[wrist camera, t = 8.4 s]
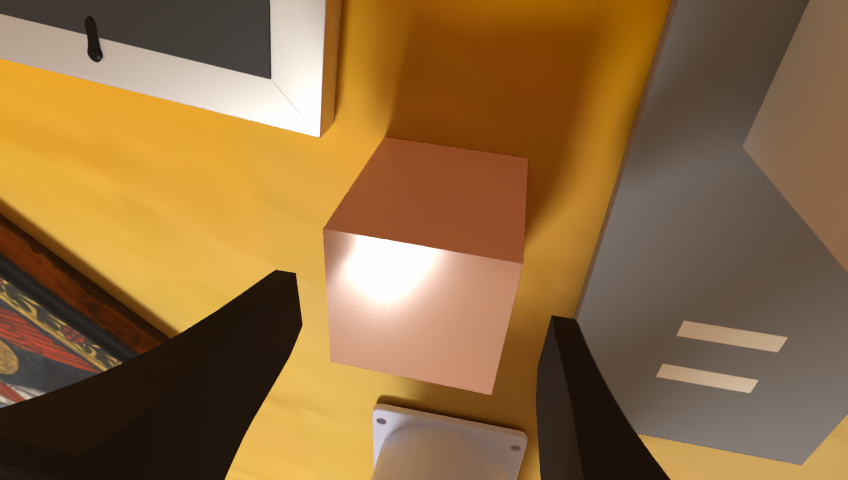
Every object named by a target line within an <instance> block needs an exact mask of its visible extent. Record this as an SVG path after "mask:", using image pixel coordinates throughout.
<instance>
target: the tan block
mask: <svg viewBox="0 0 848 480" xmlns="http://www.w3.org/2000/svg"><path fill="white" fill-rule="evenodd" d="M743 148H744V150H745V151H746V152H747V153H748V154H749V156H750V157H751V158H752V159H753V160H754V162H755V163H756V164H757V165H758V166H759V168H760V169H761V170H762V171H763V172H764V173H765V175H766V176H767V177H768V178H769V179H770V181H771V182H772V183H773V184H774V185H775V187H776V188H777V189H778V190H779V191H780V193H781V194H782V195H783V196H784V197H785V199H786V200H787V201H788V202H789V203H790V204H791V206H792V207H793V208H794V209H795V210H796V212H797V213H798V214H799V215H800V216H801V218H802V219H803V220H804V221H805V222H806V224H807V225H808V226H809V227H810V228H811V230H812V231H813V232H814V233H815V234H816V235H817V237H818V238H819V239H820V240H821V241H822V243H823V244H824V245H825V246H826V247H827V249H828V250H829V251H830V252H831V253H832V255H833V256H834V257H835V258H836V259H837V261H838V262H839V263H840V264H841V265H842V266H843V268H844V269H845V270H846V271H847V272H848V0H809V2H808V5H807V7H806V9H805V11H804V13H803V15H802V18H801V20H800V22H799V24H798V26H797V29H796V31H795V33H794V35H793V37H792V39H791V42H790V44H789V46H788V48H787V50H786V53H785V55H784V57H783V59H782V61H781V64H780V66H779V68H778V70H777V72H776V74H775V77H774V79H773V81H772V83H771V85H770V88H769V90H768V92H767V94H766V96H765V98H764V101H763V103H762V105H761V107H760V109H759V112H758V114H757V116H756V118H755V120H754V123H753V125H752V127H751V129H750V131H749V133H748V136H747V138H746V140H745V142H744V144H743Z"/></svg>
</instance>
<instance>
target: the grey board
mask: <svg viewBox="0 0 848 480" xmlns="http://www.w3.org/2000/svg"><path fill="white" fill-rule="evenodd" d="M808 2H809V0H672V2H671V5H670V8H669V11H668V15H667V18H666V21H665V24H664V28H663V31H662V34H661V37H660V40H659V44H658V47H657V50H656V53H655V57H654V60H653V63H652V66H651V70H650V73H649V76H648V79H647V83H646V86H645V89H644V92H643V96H642V99H641V102H640V105H639V108H638V112H637V115H636V118H635V121H634V125H633V128H632V131H631V134H630V138H629V141H628V144H627V147H626V151H625V154H624V157H623V160H622V164H621V167H620V170H619V173H618V176H617V180H616V183H615V186H614V189H613V193H612V196H611V199H610V202H609V206H608V209H607V212H606V215H605V219H604V222H603V225H602V228H601V231H600V235H599V238H598V241H597V244H596V248H595V251H594V254H593V257H592V261H591V264H590V267H589V270H588V274H587V277H586V280H585V283H584V287H583V290H582V293H581V296H580V299H579V303H578V306H577V309H576V312H575V316H574V319H576V321H577V322H578V323H579V326H580V329H581V331H582V333H583V336H584V338H585V341H586V343H587V345H588V347H589V350H590V352H591V354H592V356H593V358H594V360H595V362H596V364H597V366H598V368H599V370H600V372H601V374H602V376H603V378H604V380H605V382H606V383H607V385H608V387H609V389H610V391H611V393H612V394H613V396H614V398H615V400H616V401H617V403H618V405H619V406H620V408H621V410H622V411H623V413H624V415H625V416H626V418H627V420H628V421H629V423H630V424H631V426H632V427H633V429H634V430H635V432H636V433H637V434H641V435H647V436H652V437H657V438H662V439H667V440H673V441H678V442H683V443H688V444H693V445H699V446H704V447H709V448H714V449H720V450H725V451H730V452H735V453H740V454H746V455H751V456H756V457H761V458H766V459H772V460H777V461H782V462H787V463H793V464H798V465H802V464H803V463H804V462H805V461H806V460H807V459H808V457H809V456H810V455H811V454H812V453H813V452H814V451H815V450H816V449H817V447H818V446H819V445H820V444H821V443H822V442H823V441H824V440H825V439H826V437H827V436H828V435H829V434H830V433H831V432H832V431H833V430H834V429H835V427H836V426H837V425H838V424H839V423H840V422H841V421H842V420H843V419H844V418H845V416H846V415H847V414H848V272H847V271H846V270H845V269H844V268H843V266H842V265H841V264H840V263H839V262H838V261H837V259H836V258H835V257H834V256H833V255H832V253H831V252H830V251H829V250H828V249H827V247H826V246H825V245H824V244H823V243H822V241H821V240H820V239H819V238H818V237H817V235H816V234H815V233H814V232H813V231H812V230H811V228H810V227H809V226H808V225H807V224H806V222H805V221H804V220H803V219H802V218H801V216H800V215H799V214H798V213H797V212H796V210H795V209H794V208H793V207H792V206H791V204H790V203H789V202H788V201H787V200H786V199H785V197H784V196H783V195H782V194H781V193H780V191H779V190H778V189H777V188H776V187H775V185H774V184H773V183H772V182H771V181H770V179H769V178H768V177H767V176H766V175H765V173H764V172H763V171H762V170H761V169H760V168H759V166H758V165H757V164H756V163H755V162H754V160H753V159H752V158H751V157H750V156H749V154H748V153H747V152H746V151H745V150H744V148H743V144H744V142H745V140H746V138H747V136H748V133H749V131H750V129H751V127H752V125H753V123H754V120H755V118H756V116H757V114H758V112H759V109H760V107H761V105H762V103H763V101H764V98H765V96H766V94H767V92H768V90H769V88H770V85H771V83H772V81H773V79H774V77H775V74H776V72H777V70H778V68H779V66H780V64H781V61H782V59H783V57H784V55H785V53H786V50H787V48H788V46H789V44H790V42H791V39H792V37H793V35H794V33H795V31H796V29H797V26H798V24H799V22H800V20H801V18H802V15H803V13H804V11H805V9H806V7H807V5H808Z"/></svg>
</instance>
